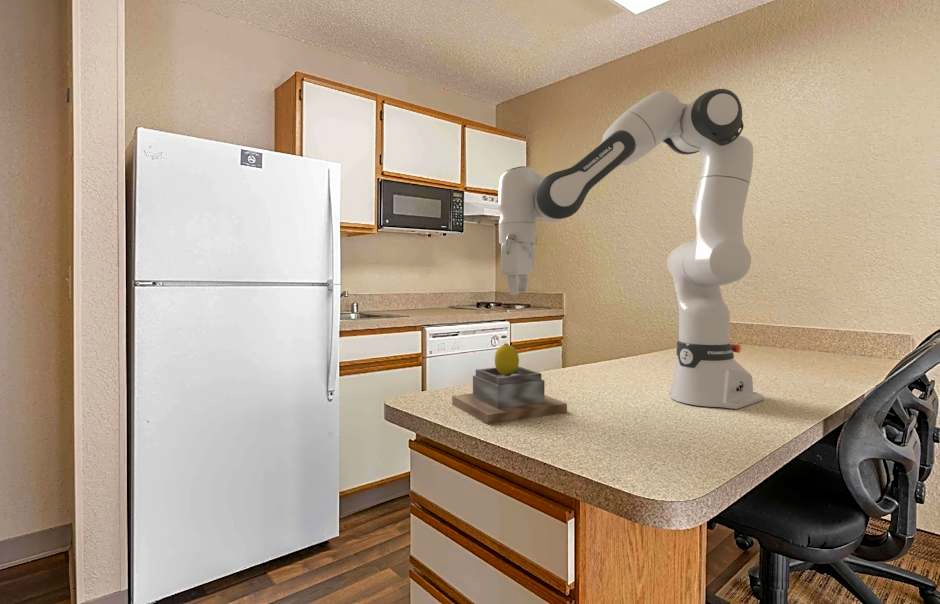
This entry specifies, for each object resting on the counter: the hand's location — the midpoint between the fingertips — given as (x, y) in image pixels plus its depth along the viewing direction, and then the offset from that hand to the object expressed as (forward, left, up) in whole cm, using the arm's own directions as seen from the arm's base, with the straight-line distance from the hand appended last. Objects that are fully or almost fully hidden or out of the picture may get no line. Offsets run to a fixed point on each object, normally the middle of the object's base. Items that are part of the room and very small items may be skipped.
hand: (518, 293), depth 120 cm
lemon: (+6, +5, -19) cm, 21 cm away
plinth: (+6, +5, -26) cm, 27 cm away
